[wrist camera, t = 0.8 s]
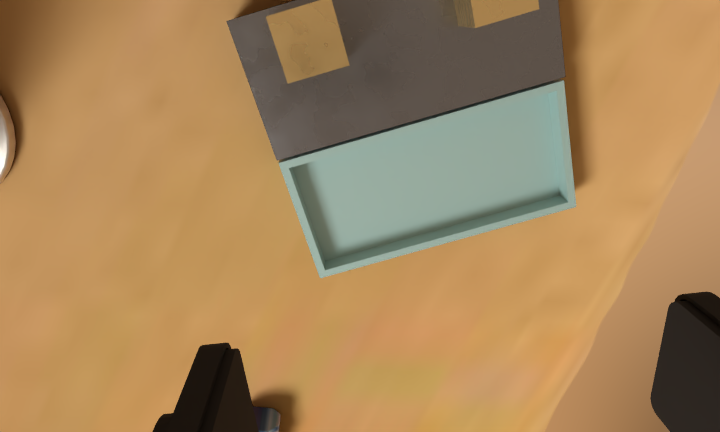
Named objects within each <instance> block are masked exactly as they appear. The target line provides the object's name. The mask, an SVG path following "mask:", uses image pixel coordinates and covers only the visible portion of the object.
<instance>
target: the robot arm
mask: <svg viewBox="0 0 720 432" xmlns="http://www.w3.org/2000/svg"><path fill="white" fill-rule="evenodd" d="M15 146H16V140H15V131H14V125H13V122H12V119H11V116H10V113H9V110H8V108H7V106H6V104H5V102H4V101H3V99H2V97H1V95H0V183H1V182H2V181H3V180H4V178H5V177H6V175H7V174H8V172H9V171H10V168H11V165H12V162H13V160H14V156H15ZM651 404H652V407H653V409H654V411H655V413H656V415H657V416H658V417H659V418H660V419H661V421H662V422H663V423H664V425H665V426H666V427H667V428H668V429H669V431H670V432H720V298H719V297H718V296H716V295H715V294H713V293H711V292H699V293H690V294H682V295H679V296H678V297H677V298H676V299H675V302H673V303H671V304H670V305H669V308H668V312H667V317H666V322H665V327H664V333H663V337H662V343H661V347H660V352H659V357H658V362H657V367H656V372H655V377H654V382H653V388H652V392H651ZM153 432H259V431H258V427H257V422H256V418H255V414H254V410H253V405H252V401H251V397H250V393H249V388H248V384H247V380H246V375H245V371H244V367H243V363H242V358H241V354H240V351H239V349H231V346H230V345H229V343H219V344H209V345H202V346H200V348H199V349H198V352H197V354H196V357H195V359H194V362H193V364H192V367H191V370H190V372H189V375H188V377H187V380H186V382H185V385H184V387H183V390H182V392H181V395H180V397H179V400H178V402H177V405H176V407H175V410H174V413H171V414H163V415H162V416H161V417H160V418H159V420H158V421H157V423H156V425H155V427H154V430H153Z"/></svg>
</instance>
